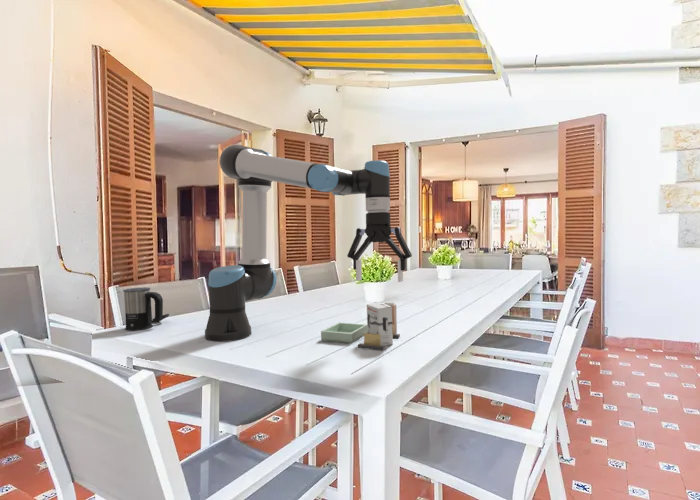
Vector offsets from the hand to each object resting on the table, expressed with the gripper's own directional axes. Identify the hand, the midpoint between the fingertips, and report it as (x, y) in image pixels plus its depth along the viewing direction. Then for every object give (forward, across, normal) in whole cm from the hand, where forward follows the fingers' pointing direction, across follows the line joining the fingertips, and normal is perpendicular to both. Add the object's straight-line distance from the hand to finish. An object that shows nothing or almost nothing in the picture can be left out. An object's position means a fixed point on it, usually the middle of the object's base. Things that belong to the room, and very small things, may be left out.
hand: (379, 280), depth 132 cm
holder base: (+19, 0, 0) cm, 19 cm away
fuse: (+19, 0, +10) cm, 22 cm away
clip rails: (+19, 0, 0) cm, 19 cm away
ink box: (+20, 0, 0) cm, 20 cm away
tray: (+19, -13, +2) cm, 23 cm away
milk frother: (+19, -91, -7) cm, 94 cm away
